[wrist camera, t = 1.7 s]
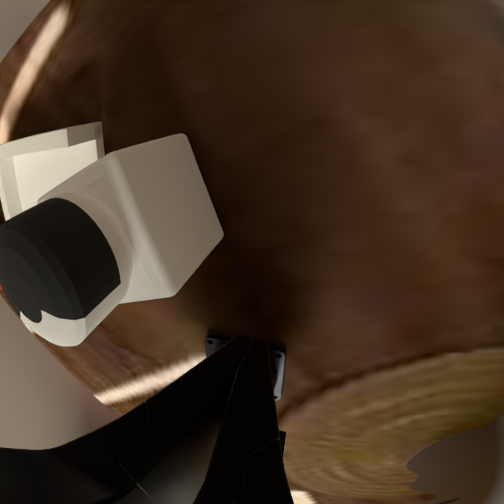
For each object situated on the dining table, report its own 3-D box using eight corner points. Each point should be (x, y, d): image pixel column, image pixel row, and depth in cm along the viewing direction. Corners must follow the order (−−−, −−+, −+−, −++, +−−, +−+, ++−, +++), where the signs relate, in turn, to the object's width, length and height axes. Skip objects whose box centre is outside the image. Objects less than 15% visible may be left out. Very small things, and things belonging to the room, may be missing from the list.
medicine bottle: (107, 169, 20) (-34, 237, 10) (187, 130, 17) (17, 185, 7) (144, 256, 23) (34, 360, 12) (227, 236, 20) (117, 373, 10)
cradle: (121, 264, 24) (95, 286, 21) (32, 246, 27) (9, 261, 24) (101, 121, 18) (66, 128, 15) (11, 140, 21) (-16, 149, 18)
